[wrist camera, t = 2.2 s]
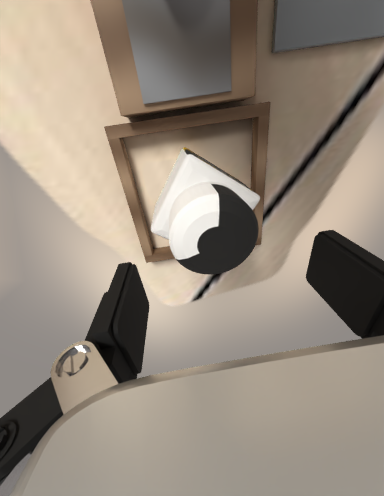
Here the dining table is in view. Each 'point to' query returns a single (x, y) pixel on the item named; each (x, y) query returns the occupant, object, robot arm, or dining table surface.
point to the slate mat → (325, 22)
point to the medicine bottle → (206, 216)
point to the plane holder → (181, 79)
